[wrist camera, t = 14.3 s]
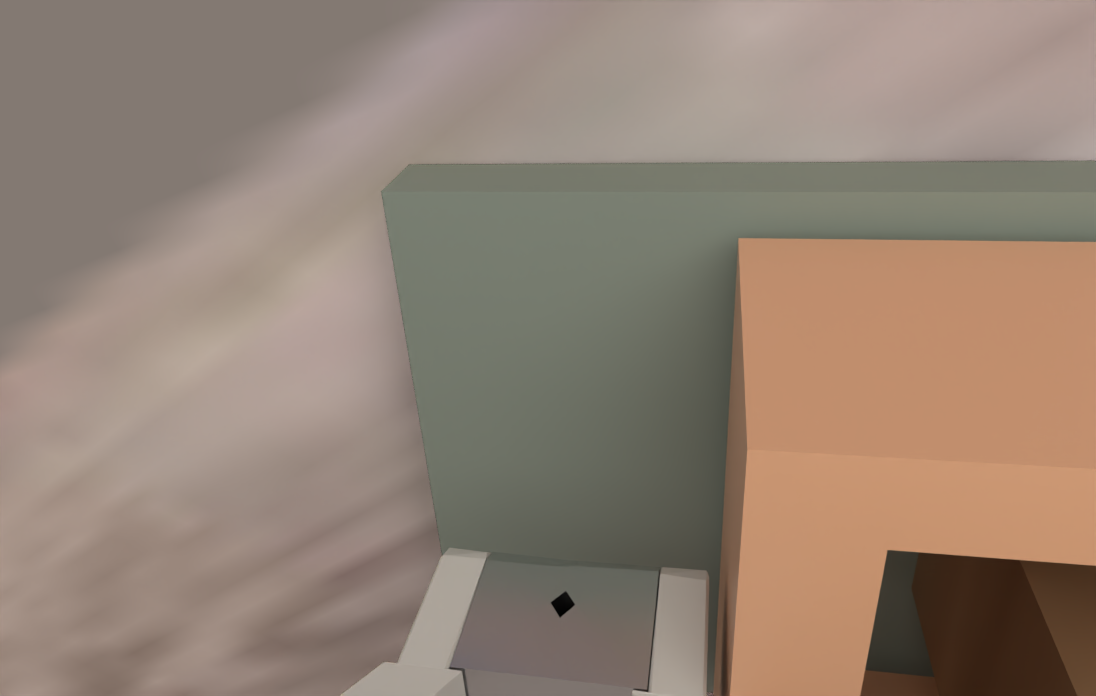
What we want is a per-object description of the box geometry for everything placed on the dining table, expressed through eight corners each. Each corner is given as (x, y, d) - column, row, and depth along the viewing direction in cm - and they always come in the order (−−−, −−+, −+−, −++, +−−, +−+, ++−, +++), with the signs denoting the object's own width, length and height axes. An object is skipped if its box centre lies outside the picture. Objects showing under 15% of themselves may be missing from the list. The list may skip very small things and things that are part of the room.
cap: (712, 691, 12) (710, 977, 9) (738, 237, 9) (748, 448, 6) (1126, 736, 11) (1281, 1074, 8) (1344, 244, 8) (1768, 507, 5)
